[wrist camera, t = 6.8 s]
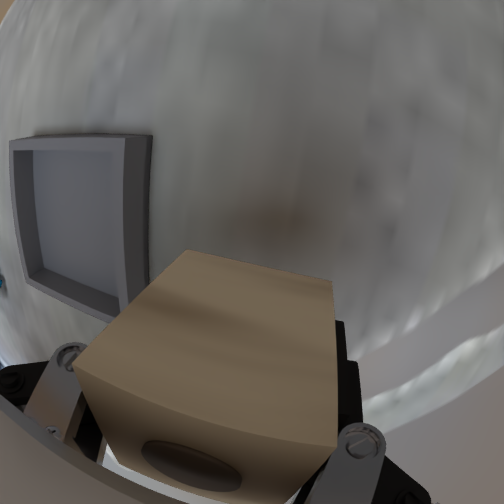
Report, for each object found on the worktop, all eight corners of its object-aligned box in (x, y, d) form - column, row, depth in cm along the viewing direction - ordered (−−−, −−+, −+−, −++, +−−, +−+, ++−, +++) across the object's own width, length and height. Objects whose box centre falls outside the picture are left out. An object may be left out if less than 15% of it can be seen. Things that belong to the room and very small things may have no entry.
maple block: (296, 382, 11) (273, 516, 6) (184, 353, 12) (117, 467, 6) (331, 281, 9) (336, 454, 4) (186, 249, 10) (66, 368, 4)
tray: (150, 311, 26) (132, 332, 23) (45, 270, 28) (26, 282, 25) (152, 135, 19) (125, 138, 16) (34, 136, 22) (9, 140, 18)
